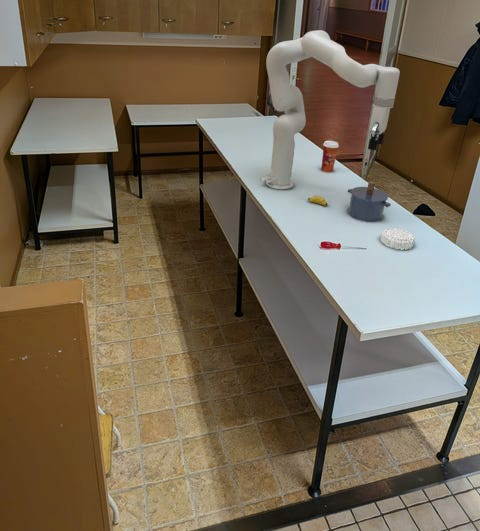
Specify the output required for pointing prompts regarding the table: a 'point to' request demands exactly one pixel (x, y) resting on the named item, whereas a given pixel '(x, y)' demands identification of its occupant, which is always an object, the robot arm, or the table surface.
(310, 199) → the yellow segmented pod
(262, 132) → the table surface
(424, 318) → the table surface
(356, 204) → the pot
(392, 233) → the mooncake
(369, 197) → the lid
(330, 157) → the paper cup
